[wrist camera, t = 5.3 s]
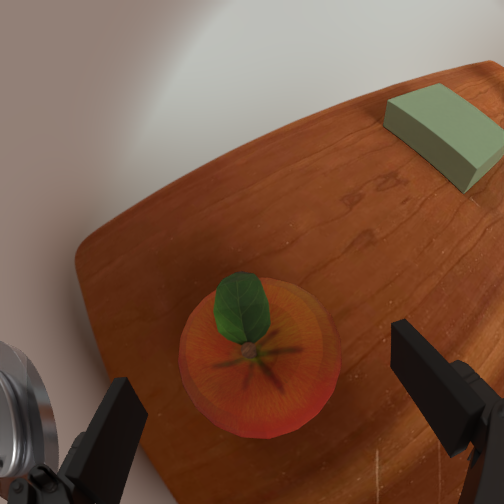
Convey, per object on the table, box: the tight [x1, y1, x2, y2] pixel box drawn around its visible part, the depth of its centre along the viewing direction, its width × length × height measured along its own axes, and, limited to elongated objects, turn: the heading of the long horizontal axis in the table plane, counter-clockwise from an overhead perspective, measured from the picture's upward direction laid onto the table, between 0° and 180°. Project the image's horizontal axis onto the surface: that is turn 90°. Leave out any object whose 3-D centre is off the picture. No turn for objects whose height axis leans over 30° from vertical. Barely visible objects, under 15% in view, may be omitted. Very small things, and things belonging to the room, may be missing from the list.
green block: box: [383, 83, 504, 194], centre depth 27 cm, size 13×13×4 cm
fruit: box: [178, 271, 342, 439], centre depth 16 cm, size 10×10×10 cm
